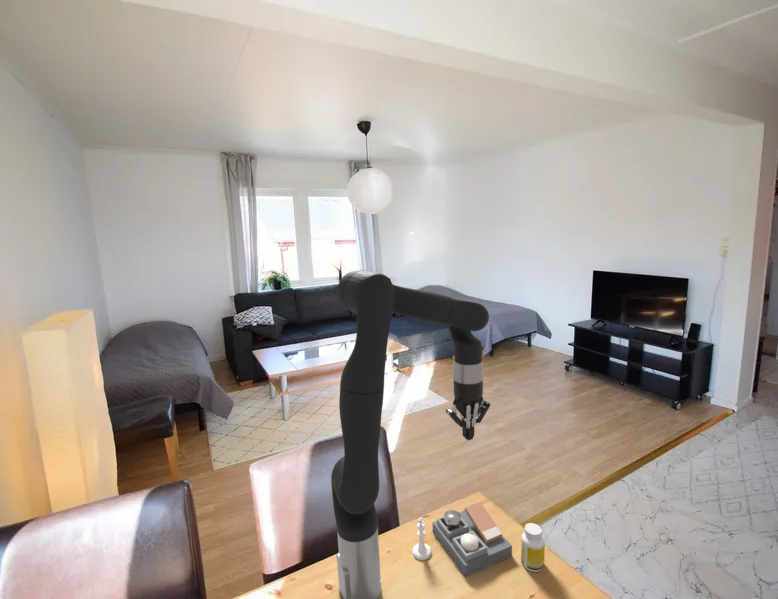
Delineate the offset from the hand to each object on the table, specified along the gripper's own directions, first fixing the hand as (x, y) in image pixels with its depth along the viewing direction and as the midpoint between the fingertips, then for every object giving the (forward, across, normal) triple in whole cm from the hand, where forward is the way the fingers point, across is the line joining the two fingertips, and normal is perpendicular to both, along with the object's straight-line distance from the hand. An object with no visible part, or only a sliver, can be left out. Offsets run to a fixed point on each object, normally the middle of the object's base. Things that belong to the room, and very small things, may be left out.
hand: (468, 438), depth 108 cm
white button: (+24, -6, -9) cm, 26 cm away
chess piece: (+27, -16, -2) cm, 32 cm away
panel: (+27, -3, -5) cm, 28 cm away
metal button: (+23, -6, -1) cm, 23 cm away
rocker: (+22, +1, -5) cm, 23 cm away
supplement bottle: (+27, +7, -17) cm, 33 cm away
